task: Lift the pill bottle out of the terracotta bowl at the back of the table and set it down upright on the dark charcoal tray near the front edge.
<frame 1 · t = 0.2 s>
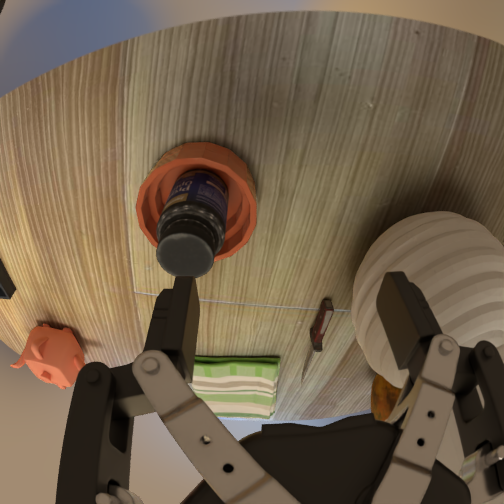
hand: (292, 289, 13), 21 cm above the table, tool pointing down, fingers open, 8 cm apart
knife: (310, 332, 49), on the table
bowl: (201, 192, 33), on the table
pill bottle: (200, 192, 33), resting on bowl
dish towel: (234, 384, 59), on the table
teapot: (61, 336, 50), on the table
pumpkin: (403, 358, 56), on the table
table lamp: (407, 253, 39), on the table
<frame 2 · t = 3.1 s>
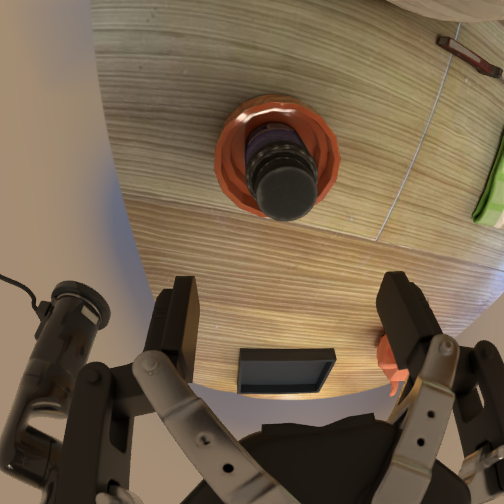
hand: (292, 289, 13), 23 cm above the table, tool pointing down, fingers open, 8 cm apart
knife: (484, 72, 24), on the table
bowl: (273, 146, 32), on the table
tray: (282, 367, 58), on the table
pill bottle: (273, 147, 32), resting on bowl
teapot: (400, 330, 52), on the table
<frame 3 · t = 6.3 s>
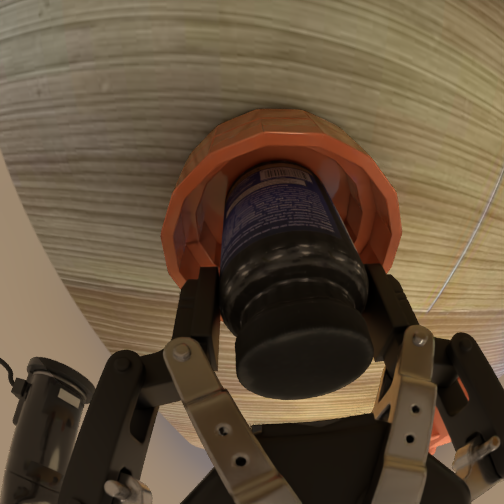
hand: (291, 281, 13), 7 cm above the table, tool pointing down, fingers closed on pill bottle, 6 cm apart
bowl: (276, 202, 19), on the table
pill bottle: (276, 203, 18), resting on bowl, touching gripper
teapot: (441, 387, 38), on the table
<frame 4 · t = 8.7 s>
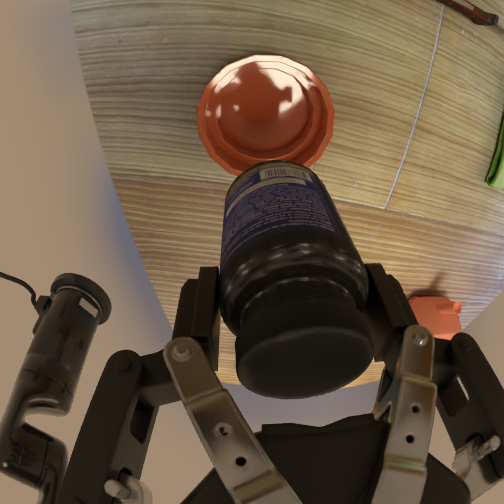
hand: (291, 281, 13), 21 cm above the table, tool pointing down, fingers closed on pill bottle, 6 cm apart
knife: (480, 24, 20), on the table
bowl: (263, 109, 28), on the table
pill bottle: (276, 202, 18), point 15 cm above the table, touching gripper
teapot: (418, 310, 48), on the table
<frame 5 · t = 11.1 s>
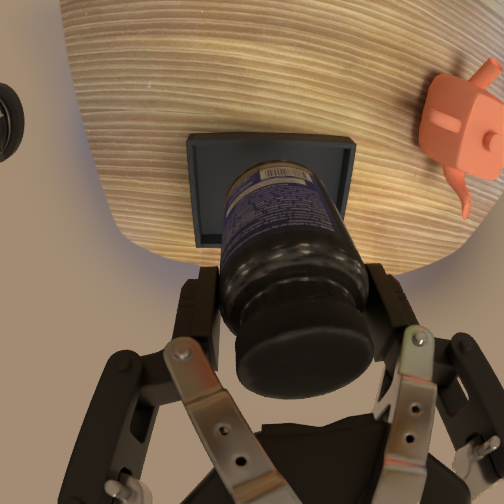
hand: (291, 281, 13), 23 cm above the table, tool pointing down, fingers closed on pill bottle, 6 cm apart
tray: (269, 187, 35), on the table
pill bottle: (277, 202, 18), point 16 cm above the table, touching gripper
teapot: (444, 116, 29), on the table
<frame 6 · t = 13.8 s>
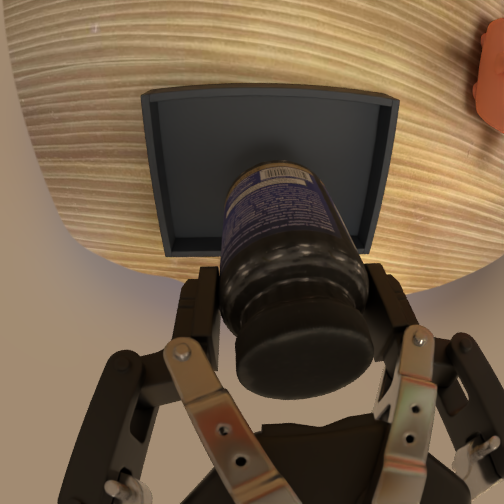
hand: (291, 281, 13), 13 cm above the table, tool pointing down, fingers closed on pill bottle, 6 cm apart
tray: (270, 167, 23), on the table
pill bottle: (277, 203, 18), point 6 cm above the table, touching gripper
teapot: (500, 78, 17), on the table
when the fingers open (7 cm above the table, at t = 15.8 s): pill bottle stays where it is, resting on tray.
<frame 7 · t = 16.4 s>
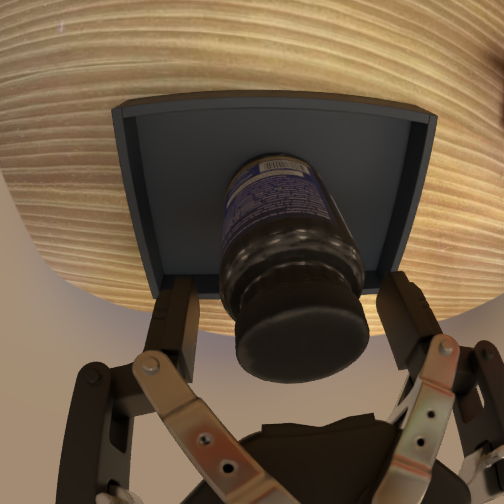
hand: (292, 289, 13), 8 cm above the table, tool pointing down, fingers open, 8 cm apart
tray: (276, 194, 19), on the table
pill bottle: (276, 195, 19), resting on tray
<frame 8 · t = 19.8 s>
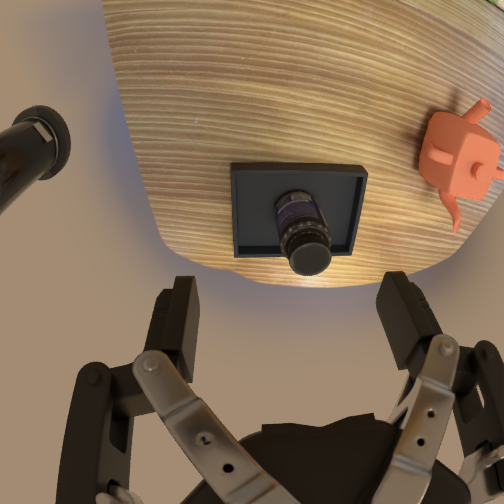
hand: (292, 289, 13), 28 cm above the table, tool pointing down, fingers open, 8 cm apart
tray: (295, 207, 42), on the table
pill bottle: (296, 208, 42), resting on tray
teapot: (441, 144, 36), on the table
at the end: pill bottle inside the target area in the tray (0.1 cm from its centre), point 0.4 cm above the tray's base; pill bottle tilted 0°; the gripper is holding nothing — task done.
